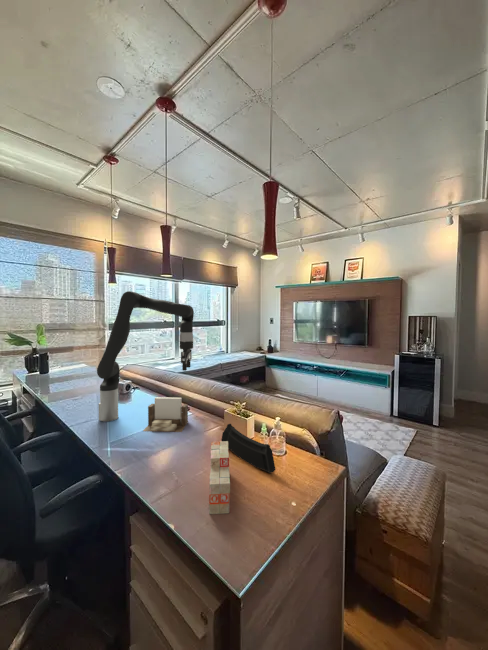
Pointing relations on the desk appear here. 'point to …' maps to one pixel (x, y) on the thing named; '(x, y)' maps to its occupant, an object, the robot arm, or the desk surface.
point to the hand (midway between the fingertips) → (186, 368)
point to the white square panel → (168, 408)
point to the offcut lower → (164, 428)
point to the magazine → (249, 449)
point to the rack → (174, 421)
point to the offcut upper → (161, 423)
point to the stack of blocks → (219, 478)
